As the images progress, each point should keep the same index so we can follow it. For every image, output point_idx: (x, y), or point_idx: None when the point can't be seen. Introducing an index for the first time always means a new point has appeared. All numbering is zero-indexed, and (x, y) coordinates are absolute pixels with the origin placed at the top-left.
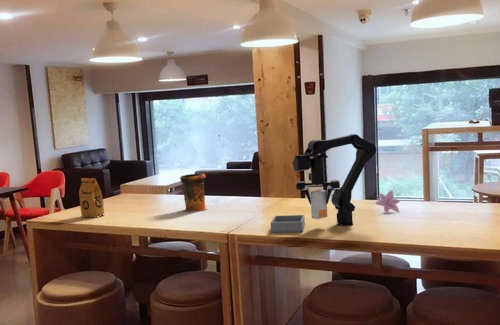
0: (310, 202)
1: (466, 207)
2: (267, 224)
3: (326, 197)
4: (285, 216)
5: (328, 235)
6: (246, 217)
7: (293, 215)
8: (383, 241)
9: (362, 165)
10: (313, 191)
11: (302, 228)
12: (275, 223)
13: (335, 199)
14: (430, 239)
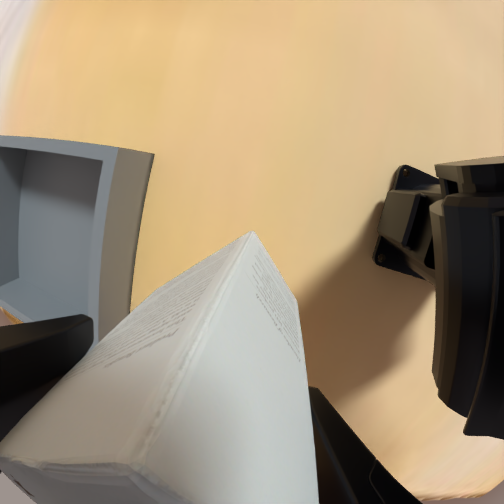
0: (75, 363)
1: None
2: (12, 115)
3: (309, 453)
4: (24, 148)
5: None
6: (7, 7)
7: (54, 148)
8: None
9: None
10: (29, 492)
11: None
12: (1, 303)
13: (468, 340)
14: (479, 467)
